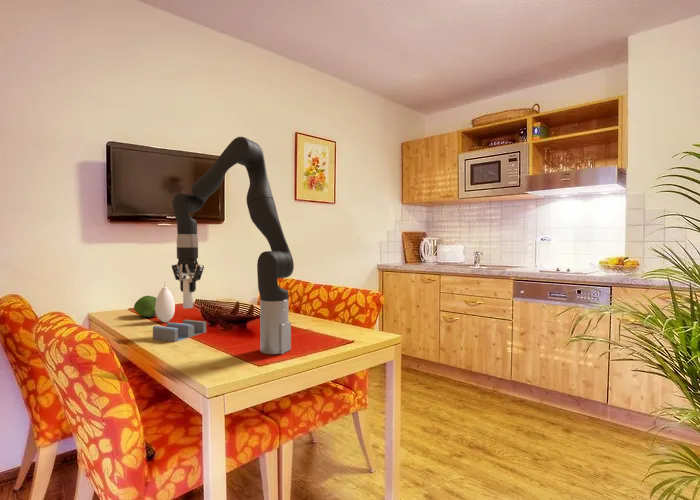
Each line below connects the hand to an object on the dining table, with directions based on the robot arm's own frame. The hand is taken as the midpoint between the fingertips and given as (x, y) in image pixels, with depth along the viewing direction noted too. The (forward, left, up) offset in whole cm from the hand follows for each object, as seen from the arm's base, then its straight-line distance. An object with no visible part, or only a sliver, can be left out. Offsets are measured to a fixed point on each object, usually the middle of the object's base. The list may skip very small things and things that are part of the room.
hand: (187, 291), depth 152 cm
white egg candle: (+27, -16, -17) cm, 36 cm away
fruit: (+44, -22, -17) cm, 52 cm away
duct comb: (0, +4, -17) cm, 17 cm away
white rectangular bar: (0, 0, -6) cm, 6 cm away
